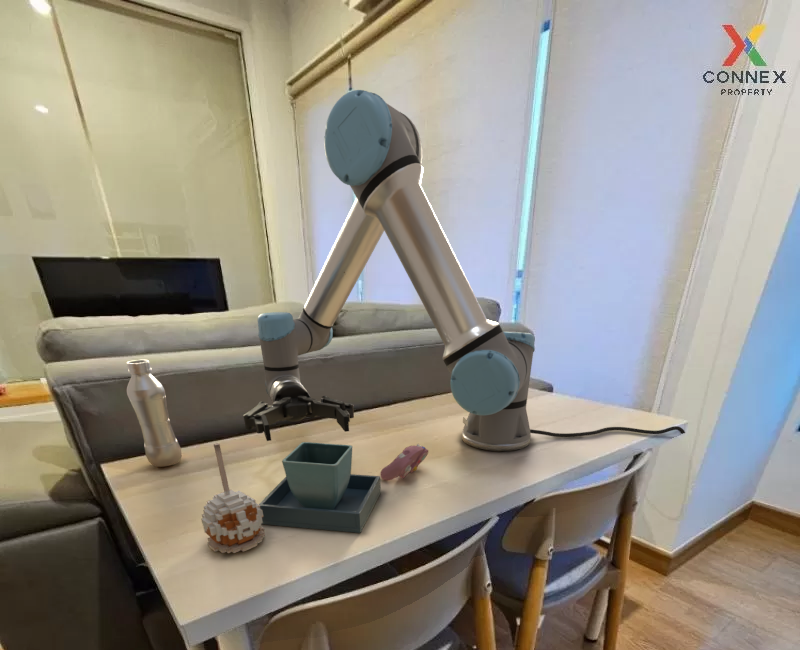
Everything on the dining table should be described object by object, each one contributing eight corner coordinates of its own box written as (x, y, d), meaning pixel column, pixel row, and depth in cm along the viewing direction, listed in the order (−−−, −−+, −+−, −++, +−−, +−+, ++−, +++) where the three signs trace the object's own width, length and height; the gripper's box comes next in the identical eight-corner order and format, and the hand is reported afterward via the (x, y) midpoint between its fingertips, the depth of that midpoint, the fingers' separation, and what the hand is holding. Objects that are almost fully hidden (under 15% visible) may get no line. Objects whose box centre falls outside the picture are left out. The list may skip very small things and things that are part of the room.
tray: (380, 493, 82) (380, 476, 80) (360, 533, 70) (359, 513, 68) (294, 486, 84) (292, 469, 83) (260, 524, 72) (257, 505, 71)
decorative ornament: (225, 562, 63) (200, 459, 56) (200, 541, 68) (174, 444, 60) (274, 541, 68) (258, 444, 60) (248, 523, 73) (230, 430, 65)
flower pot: (340, 518, 72) (336, 464, 68) (288, 513, 74) (280, 460, 69) (356, 494, 80) (353, 444, 75) (308, 490, 81) (302, 441, 77)
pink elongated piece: (395, 491, 86) (409, 463, 81) (376, 477, 87) (390, 448, 82) (421, 473, 93) (436, 447, 88) (404, 460, 94) (418, 433, 89)
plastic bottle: (191, 460, 96) (165, 359, 86) (167, 472, 91) (137, 366, 80) (166, 456, 98) (138, 357, 88) (141, 468, 92) (108, 364, 82)
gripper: (349, 410, 102) (377, 440, 85) (232, 423, 95) (237, 458, 78) (347, 375, 98) (376, 399, 81) (224, 386, 91) (228, 414, 74)
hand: (308, 428), depth 79 cm, fingers open, 13 cm apart
